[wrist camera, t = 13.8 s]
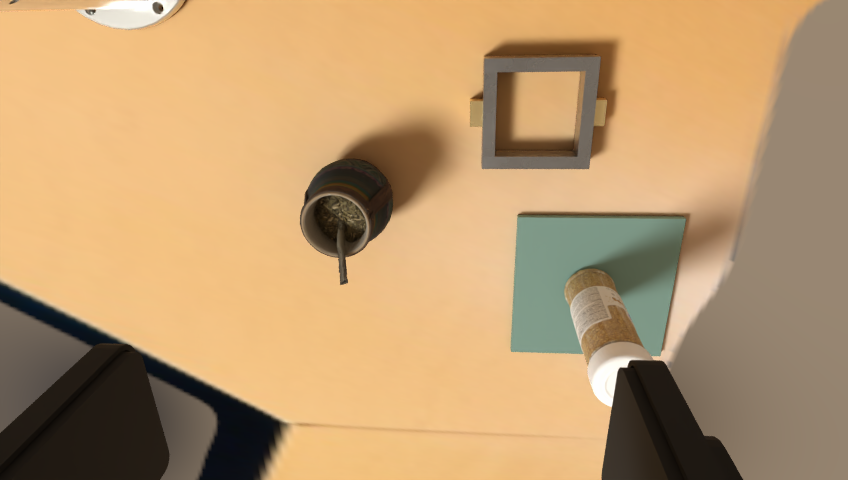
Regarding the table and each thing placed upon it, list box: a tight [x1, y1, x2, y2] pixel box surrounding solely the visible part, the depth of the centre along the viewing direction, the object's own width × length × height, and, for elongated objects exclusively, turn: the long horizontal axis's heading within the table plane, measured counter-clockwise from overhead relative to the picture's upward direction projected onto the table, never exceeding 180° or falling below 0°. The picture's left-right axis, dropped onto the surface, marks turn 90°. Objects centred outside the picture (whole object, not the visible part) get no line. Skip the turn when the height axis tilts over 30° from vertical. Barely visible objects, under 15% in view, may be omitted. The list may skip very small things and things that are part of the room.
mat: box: [511, 215, 686, 356], centre depth 49 cm, size 14×14×1 cm
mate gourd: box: [300, 159, 393, 285], centre depth 43 cm, size 7×8×10 cm
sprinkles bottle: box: [564, 269, 653, 407], centre depth 43 cm, size 5×5×14 cm
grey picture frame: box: [470, 54, 607, 169], centre depth 42 cm, size 10×8×2 cm
